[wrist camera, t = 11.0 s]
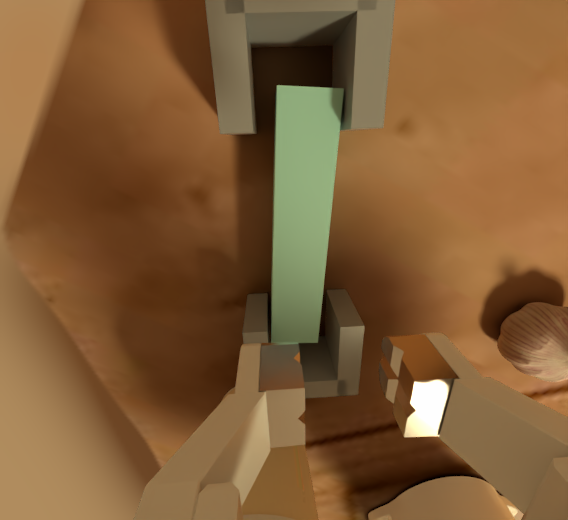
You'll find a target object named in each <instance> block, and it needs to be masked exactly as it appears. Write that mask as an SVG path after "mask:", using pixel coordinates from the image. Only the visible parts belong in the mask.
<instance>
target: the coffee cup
mask: <svg viewBox="0 0 568 520" xmlns="http://www.w3.org/2000/svg"><path fill="white" fill-rule="evenodd" d="M234 393H235V387H234V388H232V389H231V390H229V391H228V392H227V393H226V395H225V396H224V397H223V399H224V398H225V397H226V396H227V395H228V394H234ZM223 399H222V401H223ZM222 401H221V402H222ZM242 512H243V519H244V520H318V514H317V508H316V503H315V497H314V491H313V485H312V480H311V474H310V469H309V464H308V458H307V453H306V448H305V445H295V446H285V447H276V448H270V452H269V454H268V456H267V458H266V460H265V462H264V464H263V466H262V468H261V470H260V472H259V474H258V476H257V478H256V480H255V482H254V484H253V486H252V488H251V489H250V491H249V493H248V495H247V497H246V499H245V501H244V503H243V505H242Z"/></svg>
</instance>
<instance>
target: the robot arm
mask: <svg viewBox="0 0 568 520" xmlns="http://www.w3.org/2000/svg"><path fill="white" fill-rule="evenodd" d="M381 349H382V351H383V353H384V355H385V356H384V357H383V358H382V359H381V360H380V362H379V378H380V384H381V387H382V390H383V392H384V395H385V397H386V398H387V399H388V400H389V401H391V402H392V403H393V404H394V407H393V415H394V417H395V419H396V421H397V424H398V426H399V428H400V430H401V432H402V434H403V437H426V436H439V439H441V440H442V441H443V442H444V443H445V444H446V445H447V446H448V447H450V448H451V449H452V450H453V451H454V452H455V453H456V454H457V455H459V456H460V457H461V458H462V459H463V460H464V461H465V462H466V463H467V464H469V465H470V466H471V467H472V468H473V469H474V470H475V471H476V472H478V473H479V474H480V475H481V476H482V477H483V478H484V479H485V480H486V481H488V482H489V483H490V484H489V483H488V482H486V481H484V480H481V479H478V478H474V477H467V476H452V477H444V478H438V479H434V480H430V481H427V482H424V483H421V484H419V485H416V486H414V487H412V488H410V489H408V490H407V491H405V492H403V493H402V494H401V495H399V496H398V497H397V498H395V499H394V500H393V501H391V502H390V503H388V504H386V505H384V506H381V507H379V508H377V509H375V510H373V511H371V512H370V513H369V514H368V519H369V520H515V519H514V516H515V515H516V514H517V508H518V509H519V510H520V511H521V512H522V513H523V514H524V515H523V517H522V519H521V520H568V417H566V416H564V415H562V414H560V413H558V412H556V411H554V410H552V409H551V408H549V407H547V406H545V405H543V404H541V403H539V402H537V401H535V400H533V399H531V398H529V397H527V396H525V395H523V394H521V393H520V392H518V391H516V390H514V389H512V388H510V387H508V386H506V385H504V384H502V383H500V382H498V381H496V380H494V379H492V378H490V377H483V376H482V375H481V374H480V373H479V372H478V371H477V370H476V369H475V368H474V366H473V365H472V364H471V363H470V362H469V361H468V360H467V359H466V358H465V357H464V355H463V354H462V353H461V352H460V351H459V350H458V349H457V348H456V347H455V345H454V344H453V343H452V342H451V341H450V340H449V339H448V338H447V337H446V336H445V335H444V334H443V333H440V332H435V333H423V334H416V335H401V336H385V337H384V338H383V340H382V346H381ZM304 411H305V386H304V378H303V371H302V365H301V364H300V350H299V344H298V342H275V343H261V344H260V343H255V344H242V346H241V349H240V356H239V363H238V371H237V378H236V385H235V393H234V394H228V395H227V396H226V397H225V398H224V399H223V401H222V402H221V403H220V404H219V405H218V406H217V407H216V408H215V409H214V411H213V412H212V413H211V414H210V415H209V416H208V417H207V418H206V419H205V421H204V422H203V423H202V424H201V425H200V426H199V427H198V428H197V429H196V431H195V432H194V433H193V434H192V435H191V436H190V437H189V438H188V439H187V441H186V442H185V443H184V444H183V445H182V446H181V447H180V448H179V450H178V451H177V452H176V453H175V454H174V455H173V456H172V457H171V458H170V460H169V461H168V462H167V463H166V464H165V465H164V466H163V467H162V468H161V470H160V471H159V472H158V473H157V474H156V475H155V476H154V477H153V478H152V480H151V481H150V482H149V483H148V484H147V485H146V487H145V489H144V492H143V495H142V498H141V500H140V503H139V506H138V509H137V512H136V515H135V517H134V520H244V519H243V512H242V505H243V503H244V501H245V499H246V497H247V495H248V493H249V491H250V489H251V488H252V486H253V484H254V482H255V480H256V478H257V476H258V474H259V472H260V470H261V468H262V466H263V464H264V462H265V460H266V458H267V456H268V454H269V452H270V448H276V447H285V446H295V445H305V418H304ZM495 489H497V490H498V491H499V492H500V493H501V494H502V495H503V496H501V495H499V494H498V493H497V491H496V490H495ZM515 506H516V507H517V508H516V507H515Z"/></svg>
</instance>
